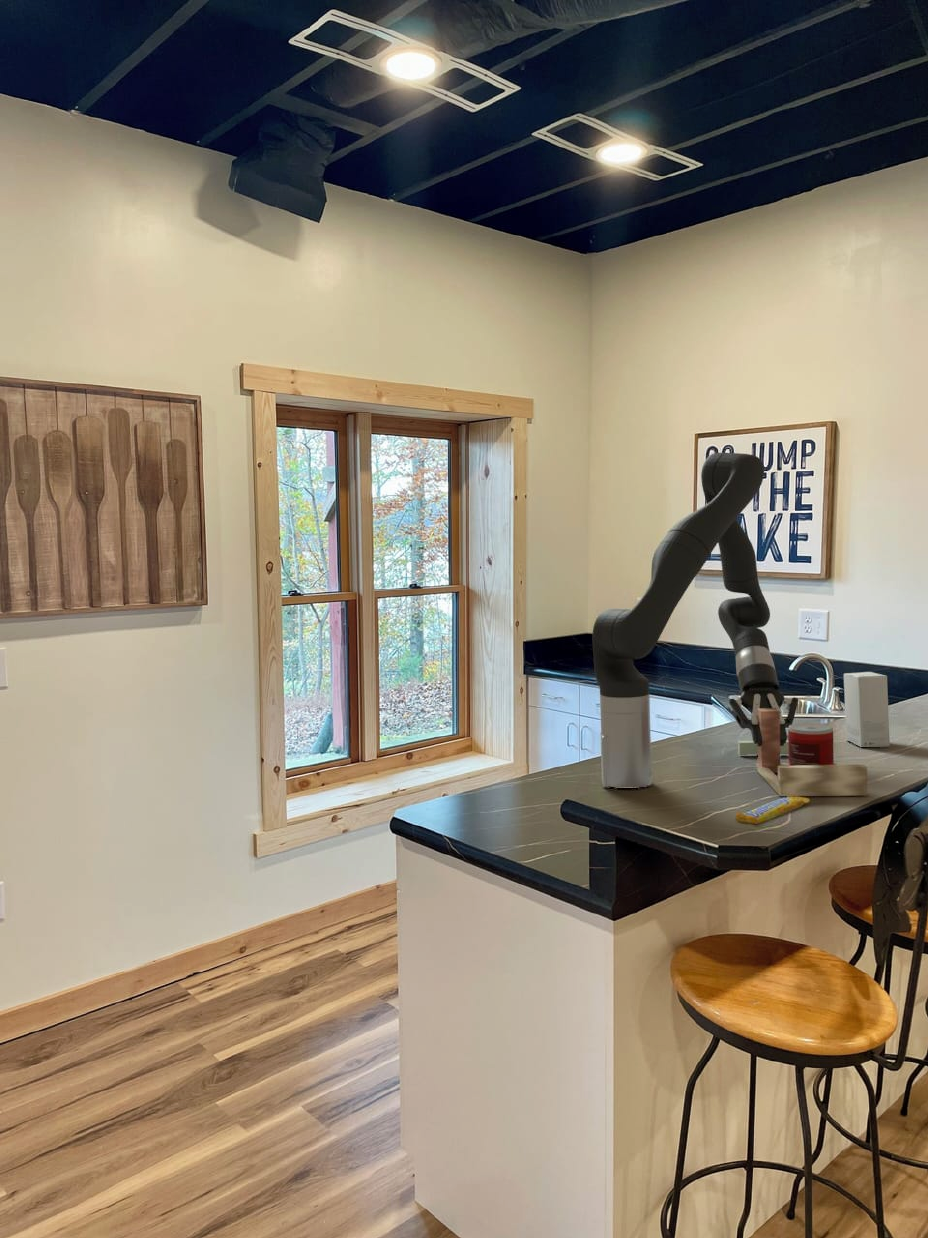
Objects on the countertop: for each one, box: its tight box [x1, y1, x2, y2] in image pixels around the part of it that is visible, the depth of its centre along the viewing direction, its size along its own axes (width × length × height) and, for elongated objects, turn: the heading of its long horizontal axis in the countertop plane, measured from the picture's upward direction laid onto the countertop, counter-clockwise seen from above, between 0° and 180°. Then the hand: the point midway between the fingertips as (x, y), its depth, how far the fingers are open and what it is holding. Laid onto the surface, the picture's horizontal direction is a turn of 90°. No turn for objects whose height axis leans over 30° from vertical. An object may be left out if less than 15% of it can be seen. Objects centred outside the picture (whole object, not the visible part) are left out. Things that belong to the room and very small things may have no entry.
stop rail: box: [737, 739, 789, 756], centre depth 189 cm, size 16×2×3 cm, turn 84°
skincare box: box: [843, 671, 891, 748], centre depth 195 cm, size 8×7×16 cm
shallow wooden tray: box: [755, 708, 868, 797], centre depth 165 cm, size 15×21×12 cm
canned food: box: [787, 722, 835, 766], centre depth 163 cm, size 8×8×11 cm
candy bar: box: [735, 796, 810, 825], centre depth 148 cm, size 17×4×2 cm, turn 130°
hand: (771, 743), depth 173 cm, fingers closed on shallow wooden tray, 3 cm apart
